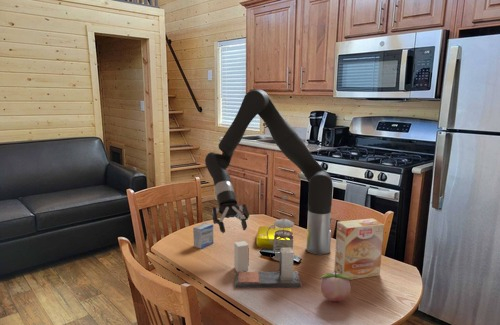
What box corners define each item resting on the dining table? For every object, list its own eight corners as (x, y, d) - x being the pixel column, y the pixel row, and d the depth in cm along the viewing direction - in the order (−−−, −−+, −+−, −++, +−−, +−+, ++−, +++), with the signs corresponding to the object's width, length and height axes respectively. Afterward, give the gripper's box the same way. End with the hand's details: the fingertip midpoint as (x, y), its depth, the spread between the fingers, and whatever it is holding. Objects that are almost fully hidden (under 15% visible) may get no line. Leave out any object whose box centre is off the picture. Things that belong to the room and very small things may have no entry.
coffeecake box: (343, 281, 122) (346, 228, 119) (333, 271, 129) (336, 220, 125) (380, 275, 126) (385, 224, 123) (369, 266, 133) (372, 217, 129)
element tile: (291, 236, 163) (291, 226, 162) (291, 249, 148) (291, 239, 147) (258, 234, 164) (259, 224, 164) (256, 247, 150) (256, 237, 149)
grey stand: (297, 275, 126) (298, 245, 124) (300, 287, 118) (302, 255, 116) (235, 275, 125) (235, 245, 123) (235, 287, 117) (235, 255, 115)
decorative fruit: (344, 293, 115) (346, 264, 113) (352, 308, 106) (354, 277, 105) (316, 293, 114) (317, 264, 112) (322, 308, 106) (323, 277, 104)
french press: (294, 262, 136) (296, 200, 131) (264, 259, 138) (265, 198, 133) (296, 252, 145) (298, 193, 140) (268, 249, 147) (269, 191, 143)
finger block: (245, 265, 133) (245, 240, 131) (248, 270, 129) (249, 244, 127) (234, 267, 131) (234, 242, 129) (237, 272, 128) (238, 246, 126)
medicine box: (200, 249, 147) (200, 229, 145) (193, 246, 149) (193, 227, 148) (213, 243, 153) (213, 224, 151) (206, 240, 156) (206, 222, 154)
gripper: (210, 191, 138) (218, 229, 129) (244, 188, 143) (254, 224, 135) (206, 200, 144) (214, 237, 135) (239, 197, 149) (249, 232, 140)
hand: (234, 230), depth 135 cm, fingers open, 8 cm apart
